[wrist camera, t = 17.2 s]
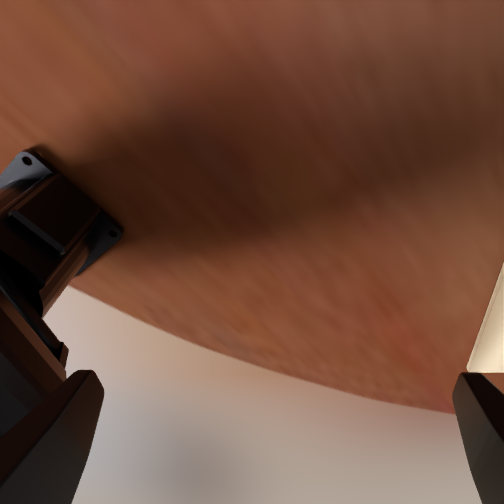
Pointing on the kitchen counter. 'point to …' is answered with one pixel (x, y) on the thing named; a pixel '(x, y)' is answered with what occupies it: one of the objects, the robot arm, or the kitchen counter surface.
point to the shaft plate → (491, 335)
